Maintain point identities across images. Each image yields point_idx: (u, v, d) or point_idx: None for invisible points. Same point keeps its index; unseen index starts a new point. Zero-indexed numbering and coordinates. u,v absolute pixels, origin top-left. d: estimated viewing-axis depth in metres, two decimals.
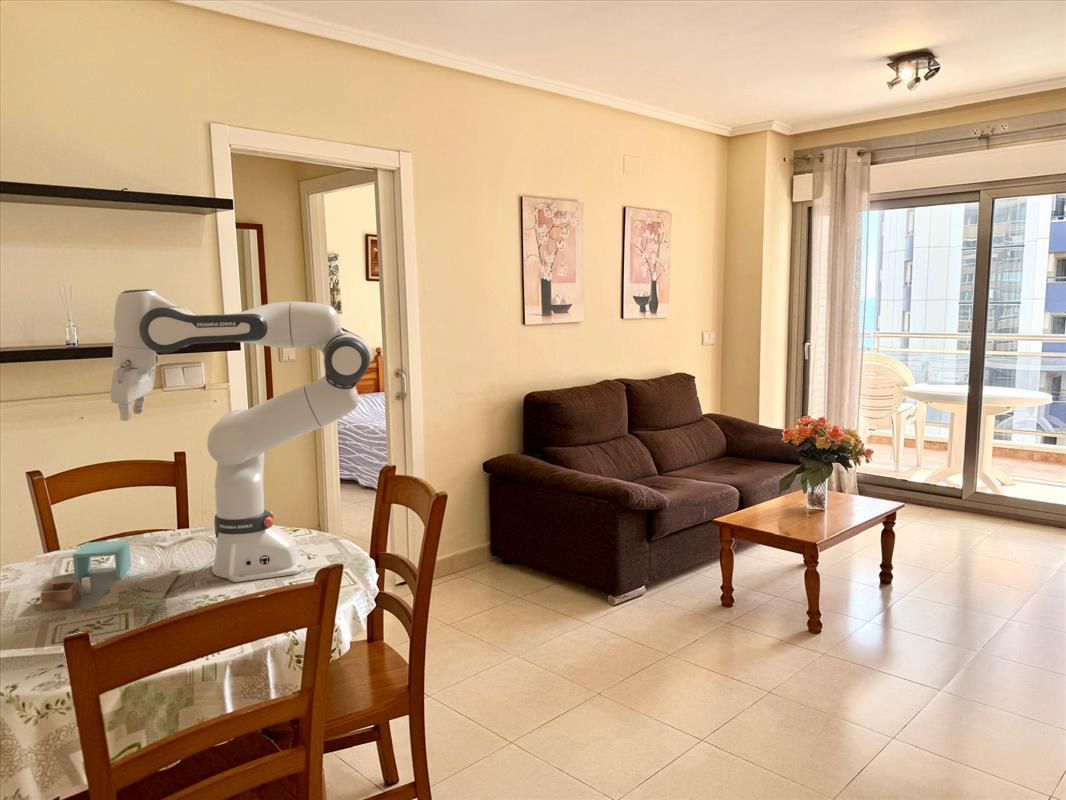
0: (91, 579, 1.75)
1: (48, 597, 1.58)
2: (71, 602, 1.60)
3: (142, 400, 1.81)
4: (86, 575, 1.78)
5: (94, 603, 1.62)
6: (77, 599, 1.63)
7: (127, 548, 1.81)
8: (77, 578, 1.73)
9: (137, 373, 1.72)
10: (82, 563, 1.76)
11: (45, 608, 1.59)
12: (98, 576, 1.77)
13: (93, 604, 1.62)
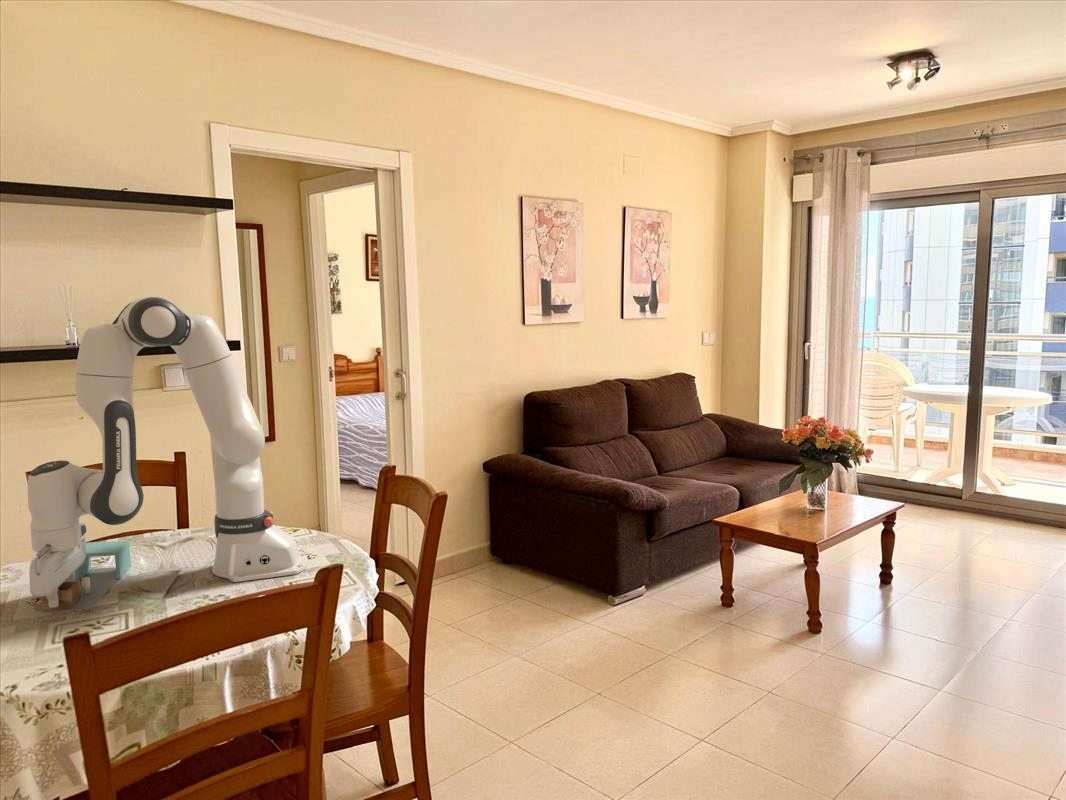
0: (91, 579, 1.75)
1: None
2: (71, 602, 1.60)
3: (71, 577, 1.65)
4: (86, 575, 1.78)
5: (94, 603, 1.62)
6: (77, 599, 1.63)
7: (127, 548, 1.81)
8: (77, 578, 1.73)
9: (60, 556, 1.57)
10: None
11: (45, 608, 1.59)
12: (98, 576, 1.77)
13: (93, 604, 1.62)
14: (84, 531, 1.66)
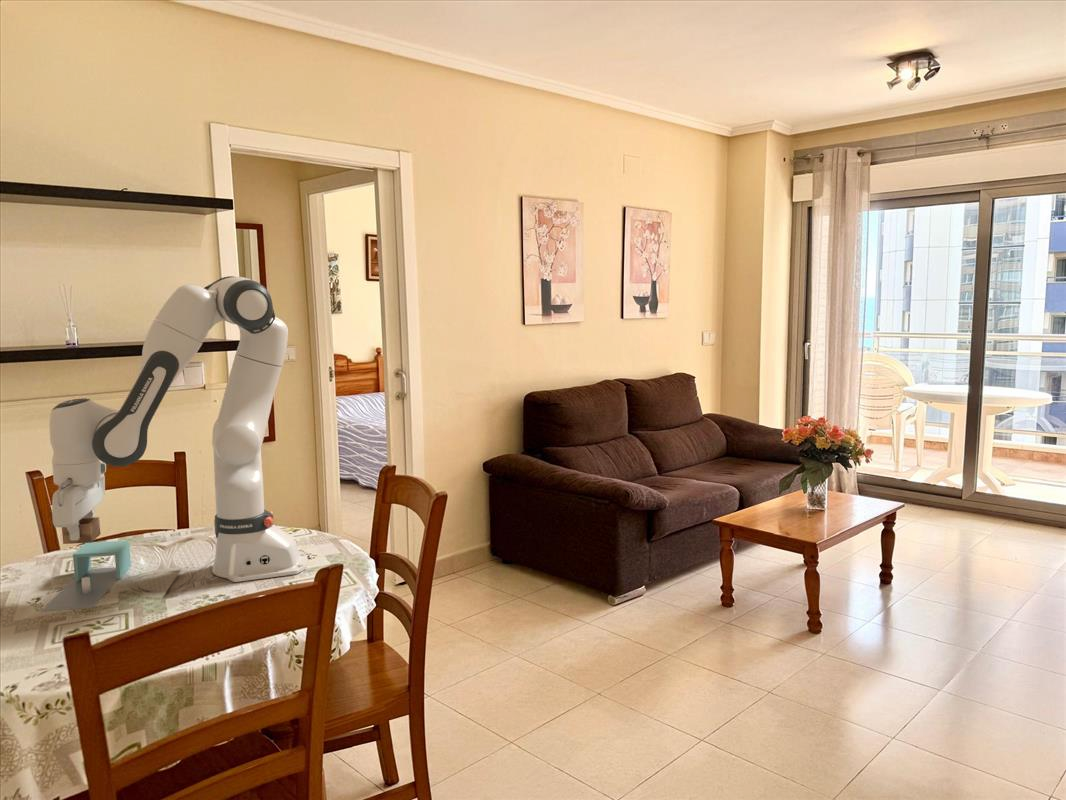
0: (91, 579, 1.75)
1: None
2: (91, 536, 1.64)
3: (91, 514, 1.69)
4: (86, 575, 1.78)
5: (94, 603, 1.62)
6: (97, 534, 1.67)
7: (127, 548, 1.81)
8: (77, 578, 1.73)
9: (81, 490, 1.61)
10: (82, 563, 1.76)
11: (66, 541, 1.63)
12: (98, 576, 1.77)
13: (93, 604, 1.62)
14: (103, 469, 1.70)
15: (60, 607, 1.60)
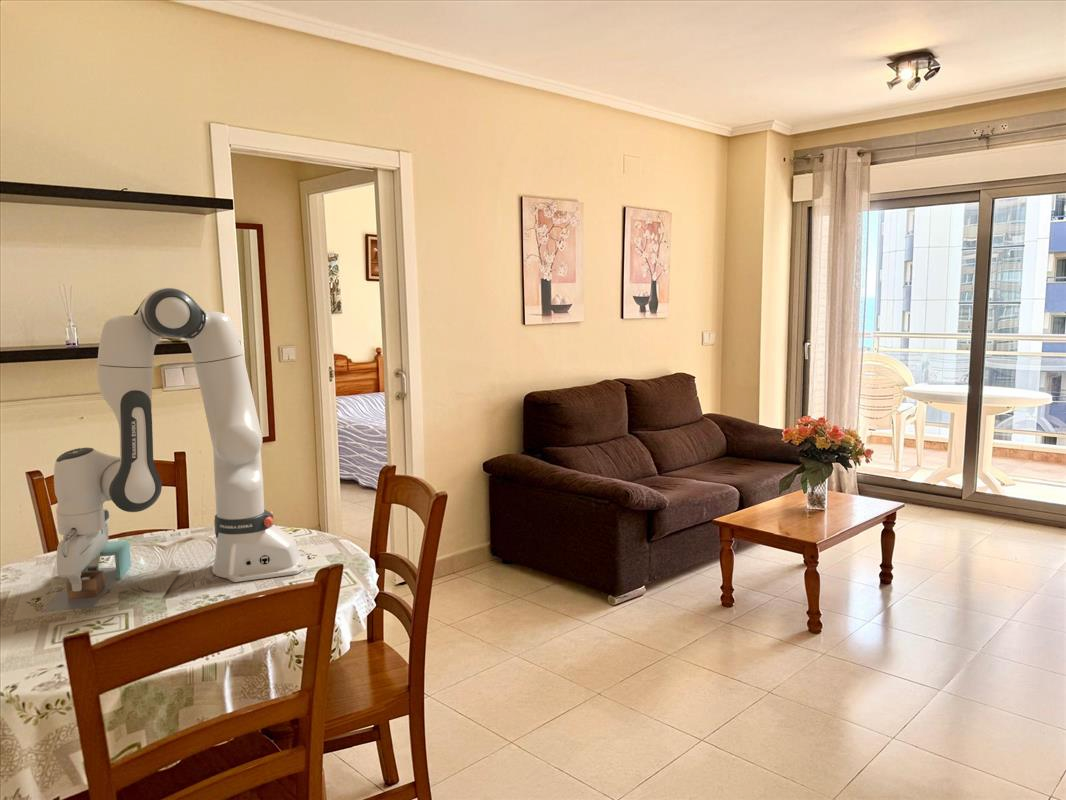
0: None
1: None
2: (96, 591, 1.66)
3: (97, 559, 1.72)
4: None
5: (94, 603, 1.62)
6: (101, 588, 1.69)
7: (127, 548, 1.81)
8: None
9: (85, 539, 1.63)
10: None
11: (71, 596, 1.65)
12: None
13: (93, 604, 1.62)
14: (107, 516, 1.72)
15: (60, 607, 1.60)
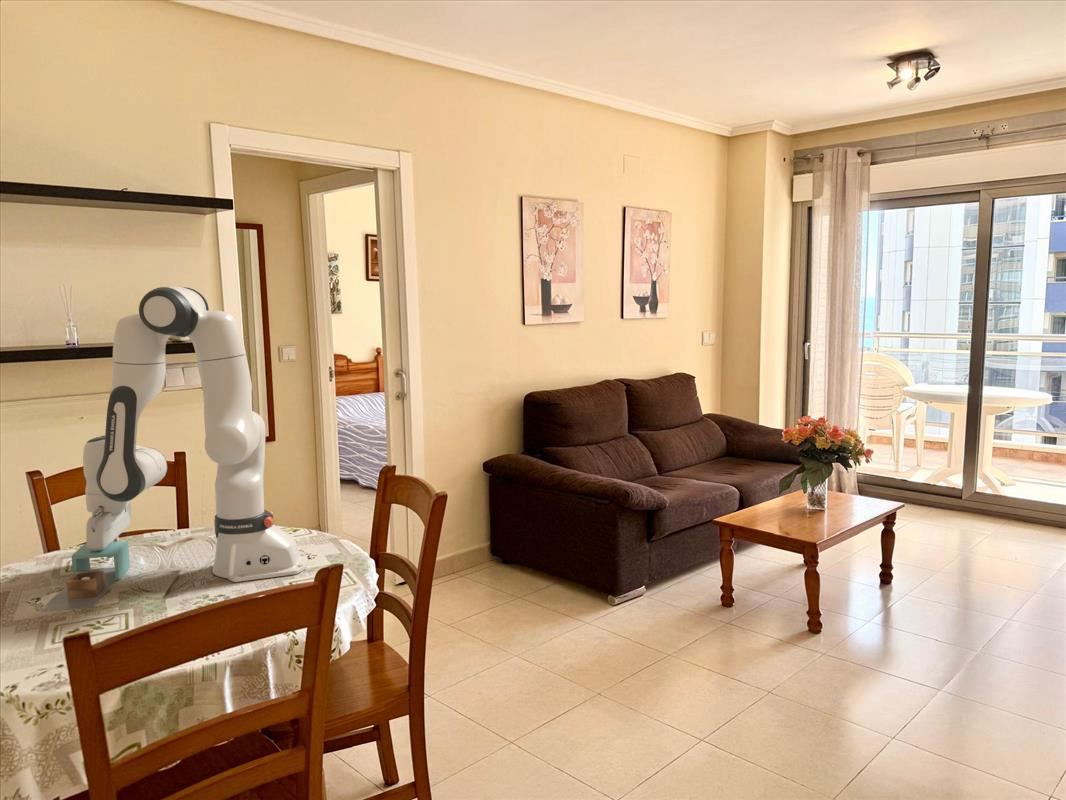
0: None
1: (74, 586, 1.64)
2: (96, 591, 1.66)
3: (115, 541, 1.85)
4: None
5: (94, 603, 1.62)
6: (101, 588, 1.69)
7: (126, 549, 1.80)
8: None
9: (111, 516, 1.79)
10: (81, 565, 1.75)
11: (71, 596, 1.65)
12: None
13: (93, 604, 1.62)
14: None
15: (60, 607, 1.60)
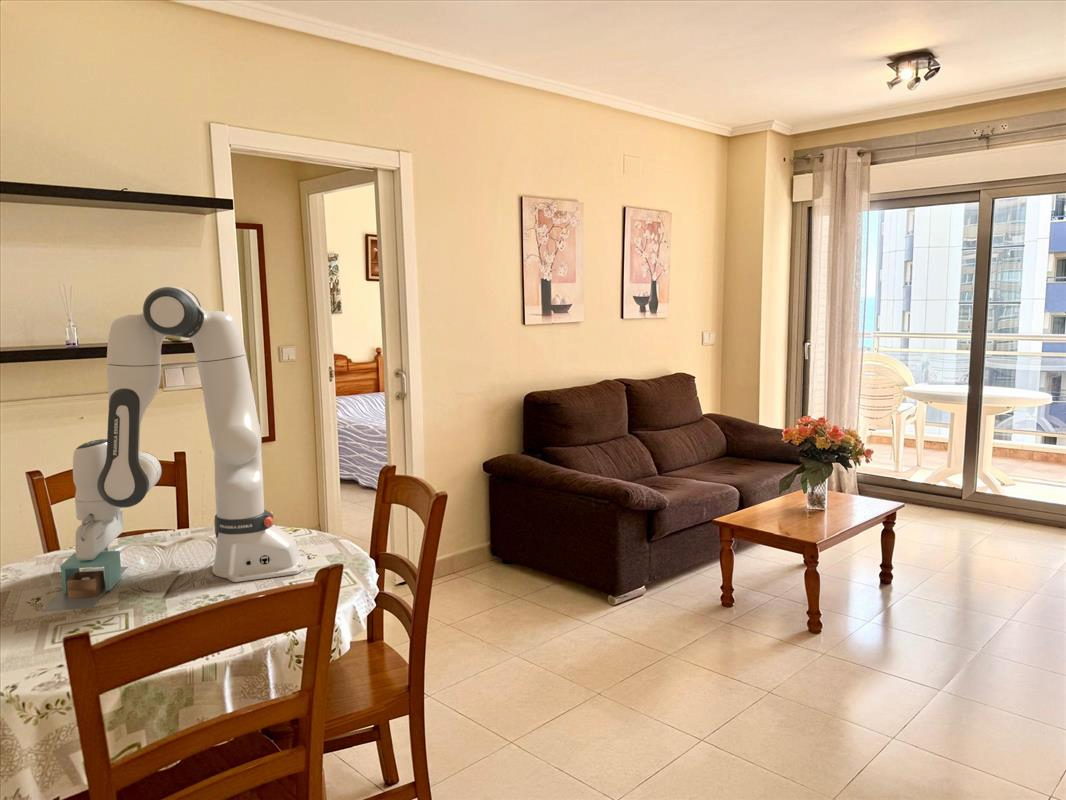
0: None
1: (74, 586, 1.64)
2: (96, 591, 1.66)
3: (106, 550, 1.79)
4: None
5: (94, 603, 1.62)
6: (101, 588, 1.69)
7: (118, 558, 1.74)
8: (65, 590, 1.67)
9: (101, 525, 1.73)
10: (70, 575, 1.69)
11: (71, 596, 1.65)
12: None
13: (93, 604, 1.62)
14: None
15: (60, 607, 1.60)
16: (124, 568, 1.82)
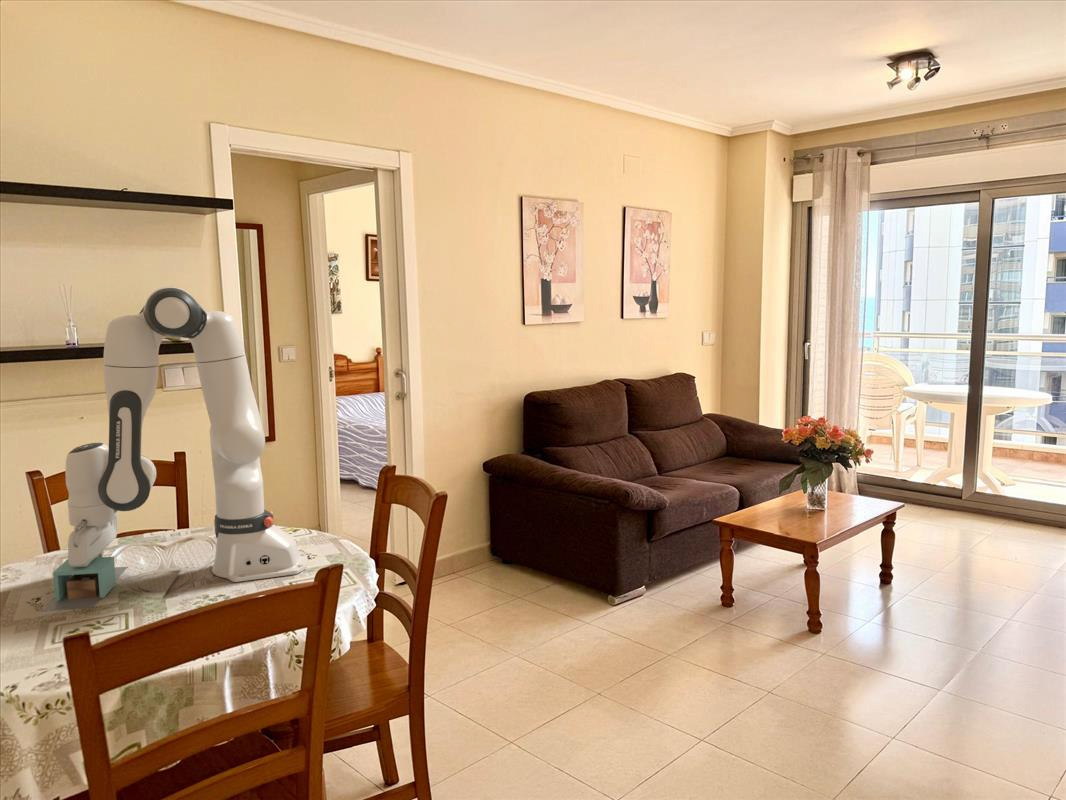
0: None
1: (74, 586, 1.64)
2: (96, 591, 1.66)
3: (100, 556, 1.74)
4: None
5: (94, 603, 1.62)
6: None
7: (112, 564, 1.70)
8: (58, 597, 1.63)
9: (95, 530, 1.69)
10: (63, 582, 1.65)
11: (71, 596, 1.65)
12: None
13: (93, 604, 1.62)
14: None
15: (60, 607, 1.60)
16: (124, 568, 1.82)
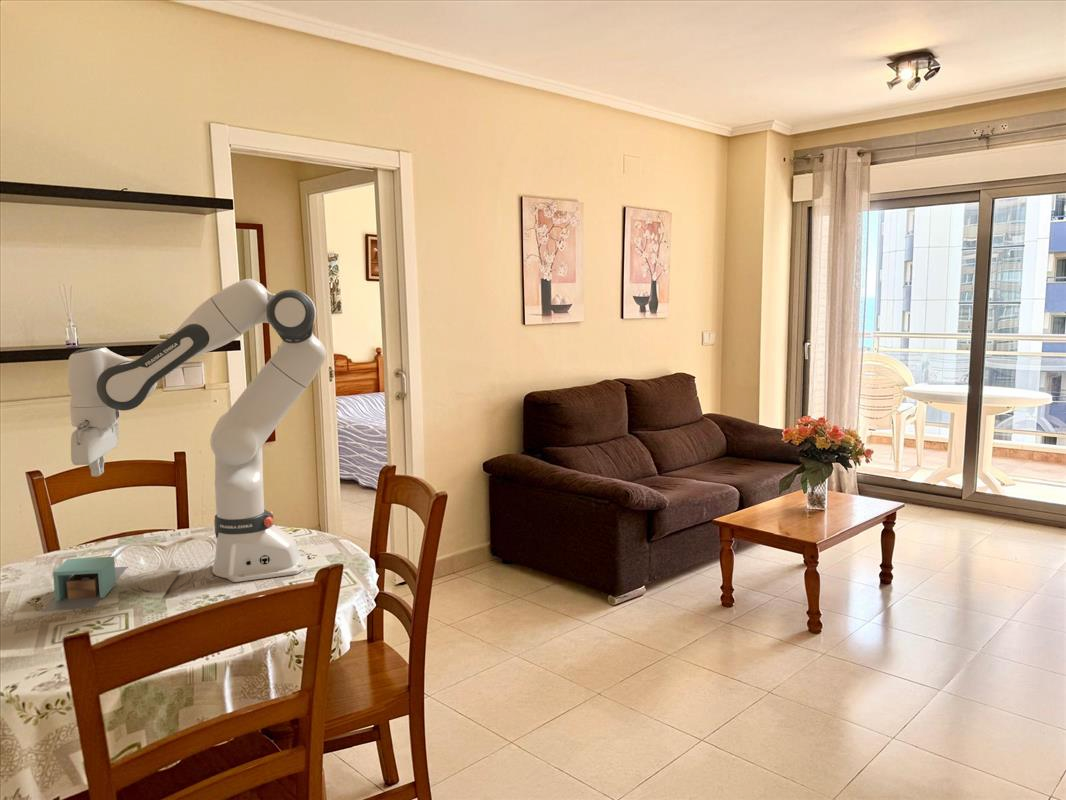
0: None
1: (74, 586, 1.64)
2: (96, 591, 1.66)
3: (102, 460, 1.77)
4: None
5: (94, 603, 1.62)
6: None
7: (112, 564, 1.70)
8: (58, 597, 1.63)
9: (97, 432, 1.71)
10: (63, 582, 1.65)
11: (71, 596, 1.65)
12: None
13: (93, 604, 1.62)
14: (117, 415, 1.80)
15: (60, 607, 1.60)
16: (124, 568, 1.82)
